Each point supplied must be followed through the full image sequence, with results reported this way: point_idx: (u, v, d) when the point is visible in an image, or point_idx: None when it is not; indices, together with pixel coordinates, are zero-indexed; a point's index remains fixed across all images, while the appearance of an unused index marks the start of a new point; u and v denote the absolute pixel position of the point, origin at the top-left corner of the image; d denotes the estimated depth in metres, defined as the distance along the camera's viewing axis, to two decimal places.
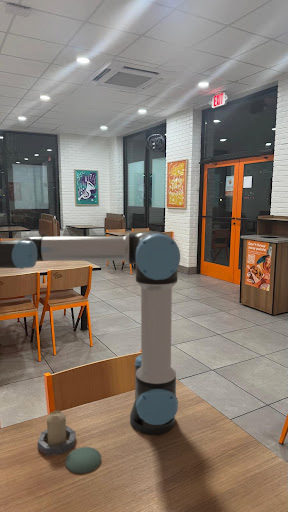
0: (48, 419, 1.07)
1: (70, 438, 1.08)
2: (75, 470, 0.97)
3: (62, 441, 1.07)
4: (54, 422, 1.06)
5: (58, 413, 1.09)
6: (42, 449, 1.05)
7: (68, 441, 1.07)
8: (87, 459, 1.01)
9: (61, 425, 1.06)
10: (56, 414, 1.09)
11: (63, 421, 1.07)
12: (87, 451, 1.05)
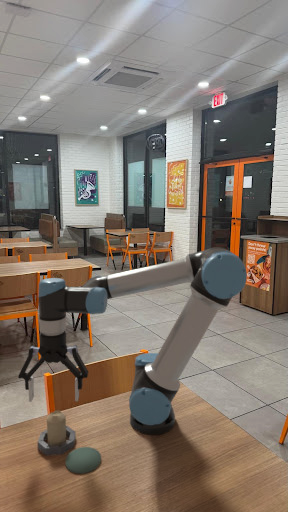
0: (48, 419, 1.07)
1: (70, 438, 1.08)
2: (75, 470, 0.97)
3: (62, 441, 1.07)
4: (54, 422, 1.06)
5: (58, 413, 1.09)
6: (42, 449, 1.05)
7: (68, 441, 1.07)
8: (87, 459, 1.01)
9: (61, 425, 1.06)
10: (56, 414, 1.09)
11: (63, 421, 1.07)
12: (87, 451, 1.05)
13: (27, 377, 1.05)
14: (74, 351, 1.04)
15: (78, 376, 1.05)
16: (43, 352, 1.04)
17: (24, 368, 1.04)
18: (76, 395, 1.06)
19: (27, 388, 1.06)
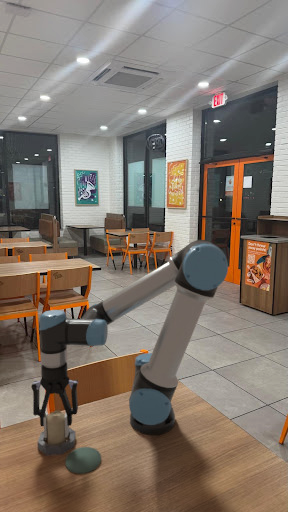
0: (48, 419, 1.07)
1: (70, 438, 1.08)
2: (75, 470, 0.97)
3: (62, 441, 1.07)
4: (54, 421, 1.06)
5: (58, 413, 1.09)
6: (42, 449, 1.05)
7: (68, 441, 1.07)
8: (87, 459, 1.01)
9: (61, 425, 1.06)
10: (56, 414, 1.09)
11: (63, 421, 1.07)
12: (87, 451, 1.05)
13: (41, 414, 1.07)
14: (74, 386, 1.06)
15: (68, 413, 1.07)
16: (45, 383, 1.05)
17: (35, 404, 1.06)
18: (66, 431, 1.08)
19: (42, 425, 1.08)
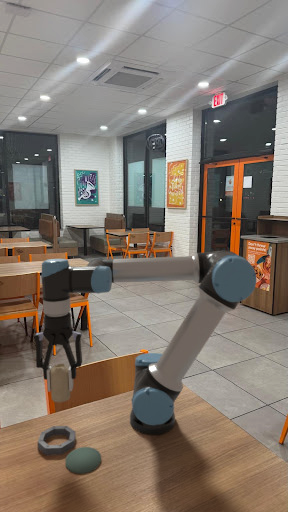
0: (51, 371, 1.03)
1: (70, 438, 1.08)
2: (75, 470, 0.97)
3: (66, 395, 1.04)
4: (57, 374, 1.02)
5: (62, 366, 1.05)
6: (42, 449, 1.05)
7: (68, 441, 1.07)
8: (87, 459, 1.01)
9: (64, 378, 1.03)
10: (60, 367, 1.05)
11: (67, 374, 1.04)
12: (87, 451, 1.05)
13: (45, 366, 1.03)
14: (78, 337, 1.02)
15: (72, 365, 1.03)
16: (48, 334, 1.02)
17: (38, 356, 1.03)
18: (70, 385, 1.04)
19: (45, 378, 1.04)
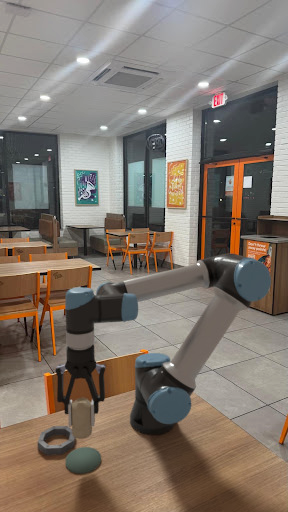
0: (73, 406, 0.98)
1: (70, 438, 1.08)
2: (75, 470, 0.97)
3: (88, 430, 0.99)
4: (80, 409, 0.97)
5: (83, 400, 1.00)
6: (42, 449, 1.05)
7: (68, 441, 1.07)
8: (87, 459, 1.01)
9: (87, 413, 0.98)
10: (81, 401, 1.00)
11: (89, 409, 0.98)
12: (87, 451, 1.05)
13: (66, 401, 0.98)
14: (102, 371, 0.97)
15: (95, 399, 0.98)
16: (70, 367, 0.97)
17: (59, 390, 0.97)
18: (92, 420, 0.99)
19: (66, 412, 0.99)
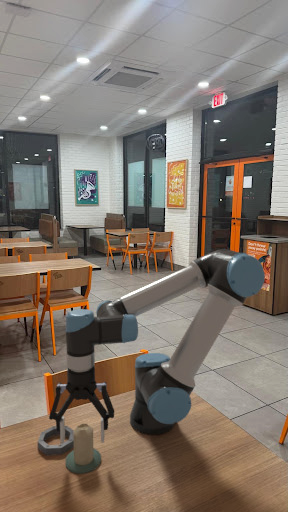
0: (75, 433, 0.99)
1: (70, 438, 1.08)
2: (75, 470, 0.97)
3: (90, 457, 1.00)
4: (81, 436, 0.98)
5: (85, 426, 1.01)
6: (42, 449, 1.05)
7: (68, 441, 1.07)
8: None
9: (88, 440, 0.99)
10: (83, 428, 1.01)
11: (91, 435, 0.99)
12: None
13: (58, 418, 0.98)
14: (104, 389, 0.98)
15: (104, 416, 0.99)
16: (71, 388, 0.98)
17: (54, 408, 0.98)
18: (102, 436, 1.00)
19: (58, 429, 0.99)
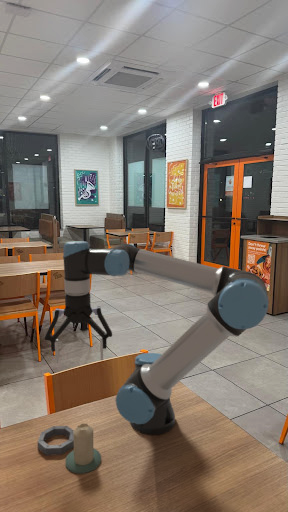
0: (75, 433, 0.99)
1: (70, 438, 1.08)
2: (75, 470, 0.97)
3: (90, 457, 1.00)
4: (81, 436, 0.98)
5: (85, 426, 1.01)
6: (42, 449, 1.05)
7: (68, 441, 1.07)
8: None
9: (88, 440, 0.99)
10: (83, 428, 1.01)
11: (91, 435, 0.99)
12: None
13: (53, 339, 1.07)
14: (99, 311, 1.08)
15: (103, 335, 1.09)
16: (69, 313, 1.07)
17: (50, 330, 1.07)
18: (101, 354, 1.10)
19: (53, 350, 1.08)
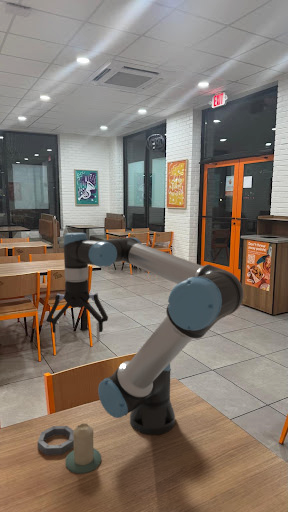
0: (75, 433, 0.99)
1: (70, 438, 1.08)
2: (75, 470, 0.97)
3: (90, 457, 1.00)
4: (81, 436, 0.98)
5: (85, 426, 1.01)
6: (42, 449, 1.05)
7: (68, 441, 1.07)
8: None
9: (88, 440, 0.99)
10: (83, 427, 1.01)
11: (91, 435, 1.00)
12: None
13: (54, 321, 1.18)
14: (95, 297, 1.18)
15: (99, 319, 1.19)
16: (68, 298, 1.17)
17: (51, 312, 1.18)
18: (97, 337, 1.19)
19: (54, 331, 1.19)
